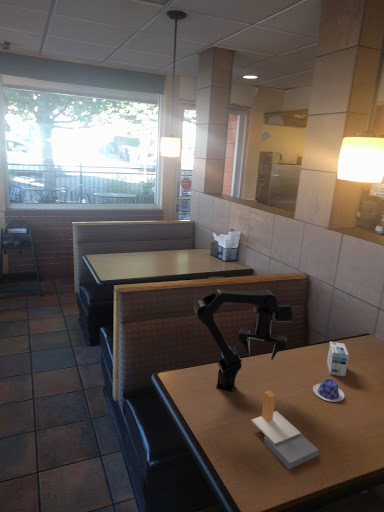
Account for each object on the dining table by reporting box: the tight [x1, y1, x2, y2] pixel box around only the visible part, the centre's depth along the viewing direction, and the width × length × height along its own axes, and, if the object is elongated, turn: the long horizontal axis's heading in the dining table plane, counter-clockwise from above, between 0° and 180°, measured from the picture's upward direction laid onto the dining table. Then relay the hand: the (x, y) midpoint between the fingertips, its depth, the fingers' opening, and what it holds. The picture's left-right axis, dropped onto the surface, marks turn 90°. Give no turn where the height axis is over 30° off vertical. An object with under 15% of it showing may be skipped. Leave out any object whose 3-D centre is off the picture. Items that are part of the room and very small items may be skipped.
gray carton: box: [262, 433, 319, 470], centre depth 122 cm, size 12×12×2 cm
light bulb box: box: [326, 341, 350, 378], centre depth 168 cm, size 11×7×11 cm, turn 169°
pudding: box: [312, 378, 345, 403], centre depth 152 cm, size 12×12×5 cm
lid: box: [251, 390, 302, 445], centre depth 126 cm, size 12×11×10 cm
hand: (260, 357), depth 153 cm, fingers open, 9 cm apart
